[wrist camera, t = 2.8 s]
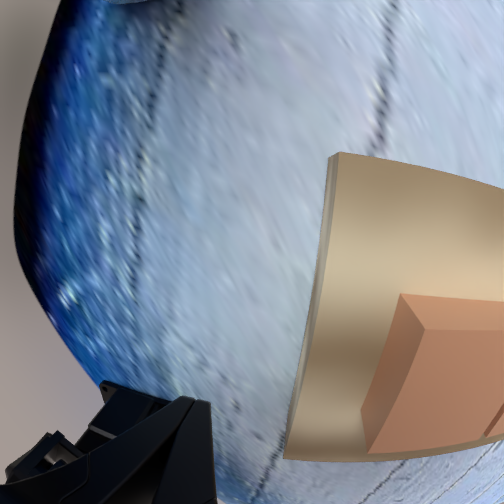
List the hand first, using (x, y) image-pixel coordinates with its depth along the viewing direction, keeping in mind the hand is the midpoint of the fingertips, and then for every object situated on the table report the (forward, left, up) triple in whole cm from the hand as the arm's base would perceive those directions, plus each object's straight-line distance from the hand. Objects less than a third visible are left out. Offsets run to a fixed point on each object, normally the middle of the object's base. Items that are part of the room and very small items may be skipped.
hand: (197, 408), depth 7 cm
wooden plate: (0, -12, -7) cm, 13 cm away
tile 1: (0, -9, -4) cm, 9 cm away
